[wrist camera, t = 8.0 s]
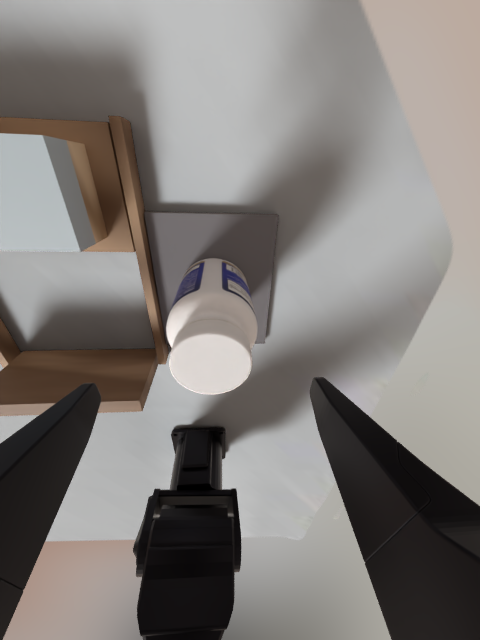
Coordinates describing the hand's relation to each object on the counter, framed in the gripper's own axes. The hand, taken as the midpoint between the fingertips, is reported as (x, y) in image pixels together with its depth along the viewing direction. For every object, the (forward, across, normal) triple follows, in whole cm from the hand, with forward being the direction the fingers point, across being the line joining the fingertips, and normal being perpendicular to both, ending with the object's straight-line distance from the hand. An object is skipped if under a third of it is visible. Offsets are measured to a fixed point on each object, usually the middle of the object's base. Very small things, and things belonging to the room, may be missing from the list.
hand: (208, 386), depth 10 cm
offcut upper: (+8, +12, -6) cm, 15 cm away
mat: (+11, 0, 0) cm, 11 cm away
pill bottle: (+10, 0, 0) cm, 11 cm away
